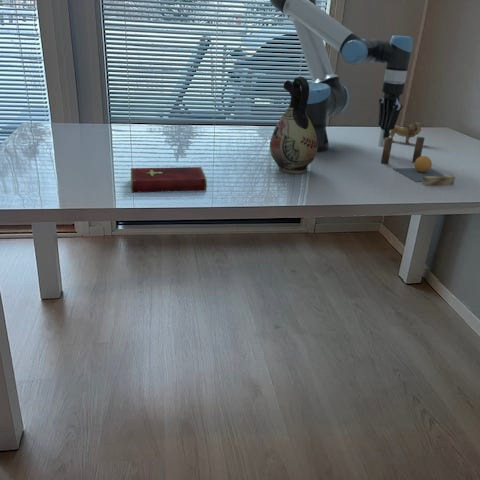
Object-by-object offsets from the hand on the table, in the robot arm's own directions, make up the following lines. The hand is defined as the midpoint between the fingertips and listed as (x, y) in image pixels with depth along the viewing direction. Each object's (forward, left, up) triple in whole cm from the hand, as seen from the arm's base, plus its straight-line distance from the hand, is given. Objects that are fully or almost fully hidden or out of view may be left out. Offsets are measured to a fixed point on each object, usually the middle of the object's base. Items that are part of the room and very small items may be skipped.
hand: (382, 146), depth 185 cm
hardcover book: (-85, -28, -3) cm, 89 cm away
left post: (-6, -13, -3) cm, 15 cm away
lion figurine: (+18, +15, -3) cm, 24 cm away
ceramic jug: (-43, -18, -3) cm, 47 cm away
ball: (+2, -25, 0) cm, 25 cm away
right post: (+7, -13, -3) cm, 15 cm away
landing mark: (0, -27, -3) cm, 27 cm away
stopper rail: (-1, -37, -3) cm, 37 cm away
